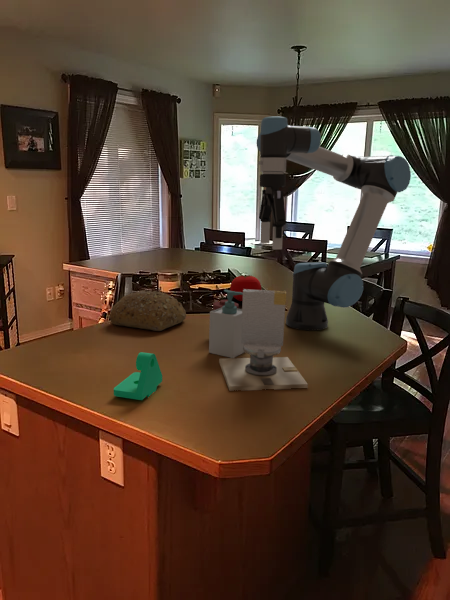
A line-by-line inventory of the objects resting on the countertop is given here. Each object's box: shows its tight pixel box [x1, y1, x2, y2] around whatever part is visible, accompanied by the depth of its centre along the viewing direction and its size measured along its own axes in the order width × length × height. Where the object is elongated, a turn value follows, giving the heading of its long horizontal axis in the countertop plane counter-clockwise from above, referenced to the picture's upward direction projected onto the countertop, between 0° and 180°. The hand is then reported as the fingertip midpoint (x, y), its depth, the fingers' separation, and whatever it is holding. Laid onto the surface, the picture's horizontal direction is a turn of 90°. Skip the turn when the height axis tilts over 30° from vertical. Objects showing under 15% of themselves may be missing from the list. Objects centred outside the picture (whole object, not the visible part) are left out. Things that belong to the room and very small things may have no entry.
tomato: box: [229, 274, 263, 303], centre depth 218 cm, size 13×14×12 cm
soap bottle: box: [208, 289, 245, 358], centre depth 151 cm, size 9×9×19 cm
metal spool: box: [245, 354, 277, 376], centre depth 135 cm, size 8×8×6 cm
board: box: [218, 356, 309, 392], centre depth 135 cm, size 20×20×2 cm
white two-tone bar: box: [241, 289, 287, 358], centre depth 132 cm, size 13×11×16 cm
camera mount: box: [113, 351, 163, 401], centre depth 121 cm, size 12×8×10 cm, turn 164°
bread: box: [108, 289, 187, 332], centre depth 180 cm, size 24×21×12 cm
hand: (270, 246), depth 151 cm, fingers open, 13 cm apart
